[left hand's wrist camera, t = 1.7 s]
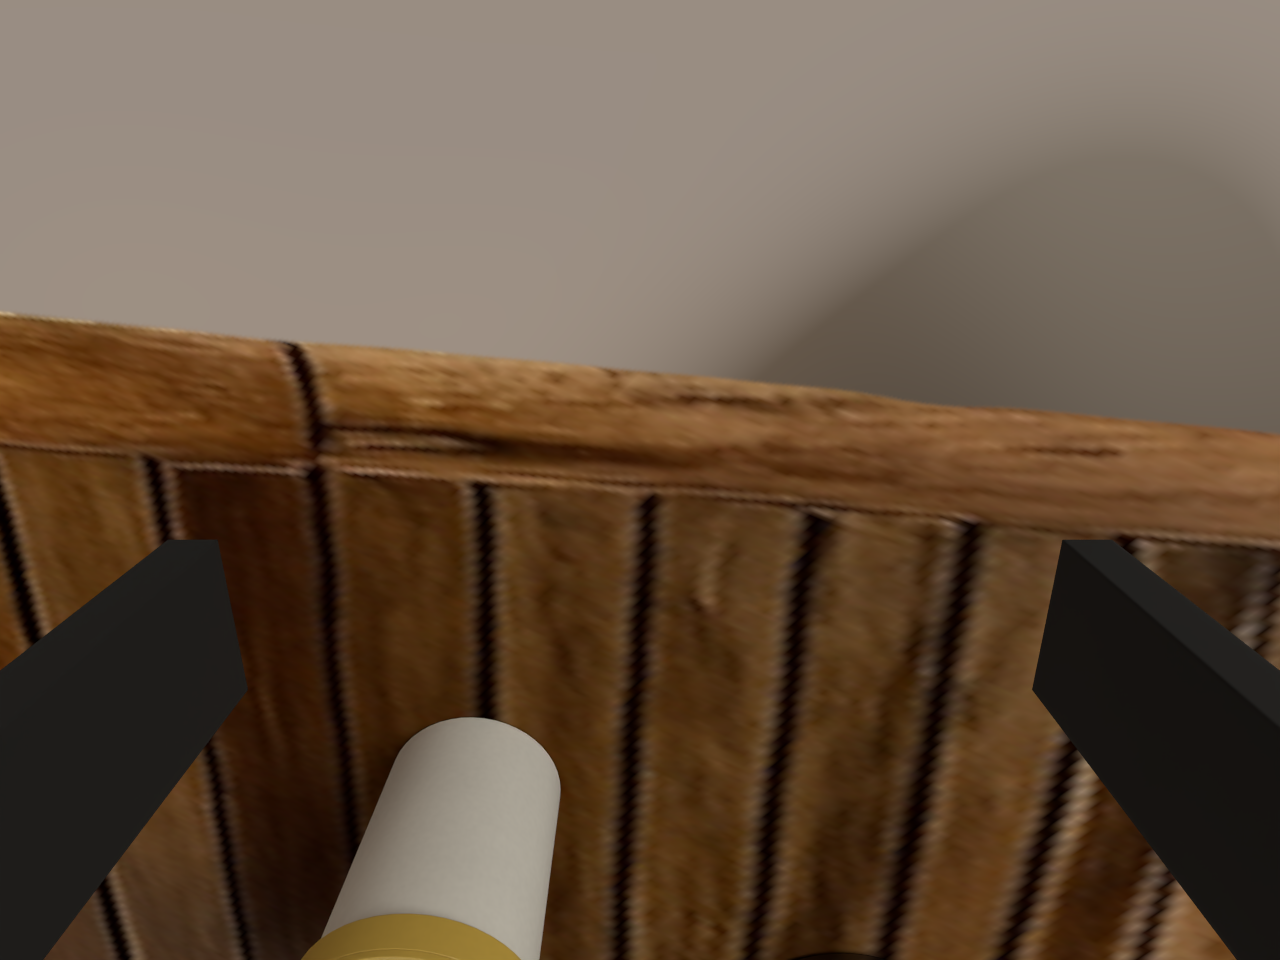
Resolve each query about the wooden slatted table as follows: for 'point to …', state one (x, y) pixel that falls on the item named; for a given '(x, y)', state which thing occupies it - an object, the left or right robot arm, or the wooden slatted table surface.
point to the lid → (408, 940)
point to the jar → (461, 834)
